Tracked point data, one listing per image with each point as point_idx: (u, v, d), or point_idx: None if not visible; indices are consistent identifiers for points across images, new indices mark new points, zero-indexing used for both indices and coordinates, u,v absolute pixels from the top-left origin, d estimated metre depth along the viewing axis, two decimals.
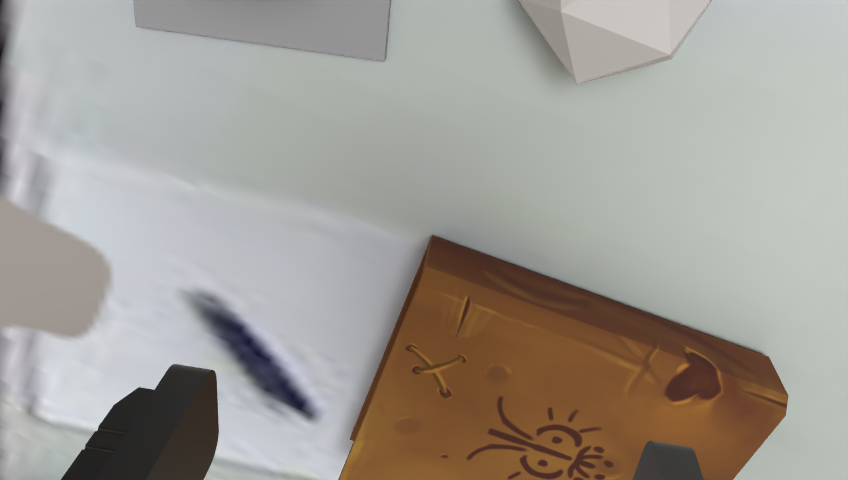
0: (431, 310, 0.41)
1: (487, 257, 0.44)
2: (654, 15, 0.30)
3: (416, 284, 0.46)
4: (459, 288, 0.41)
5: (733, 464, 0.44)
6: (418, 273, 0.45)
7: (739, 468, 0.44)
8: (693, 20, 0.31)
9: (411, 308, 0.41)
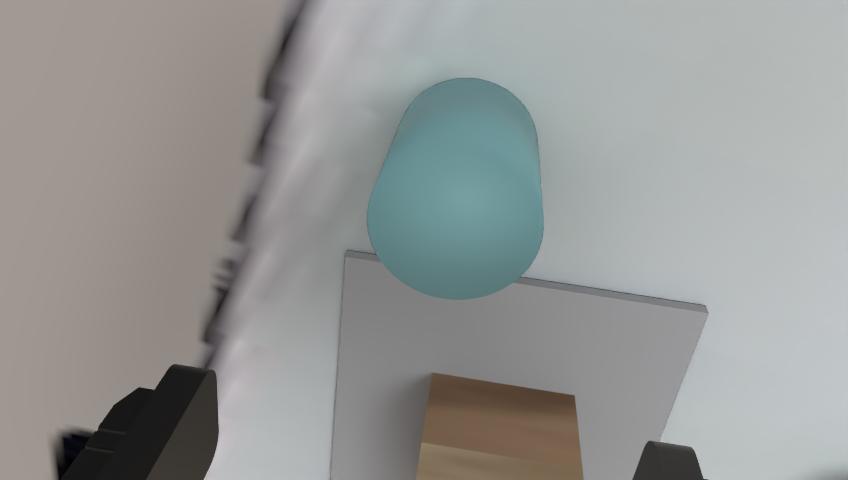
0: None
1: None
2: None
3: None
4: None
5: None
6: None
7: None
8: None
9: None
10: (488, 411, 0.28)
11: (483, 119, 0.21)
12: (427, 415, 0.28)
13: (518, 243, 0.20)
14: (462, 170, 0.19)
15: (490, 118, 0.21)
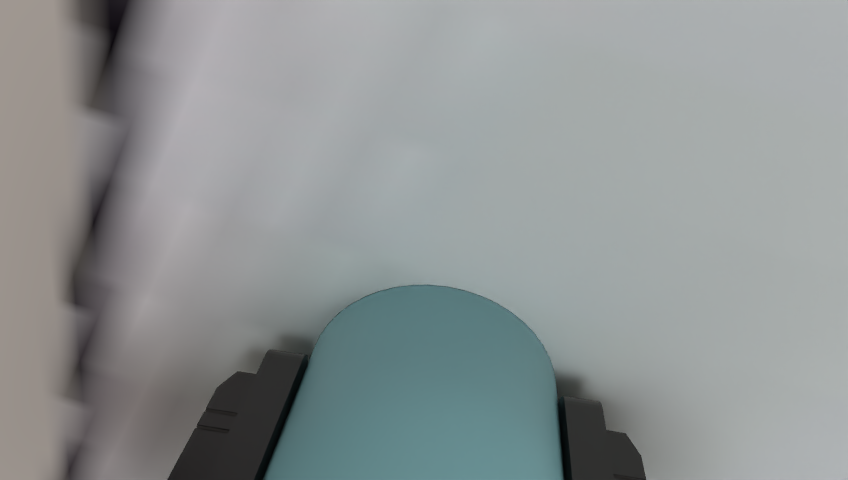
0: None
1: None
2: None
3: None
4: None
5: None
6: None
7: None
8: None
9: None
10: None
11: (452, 440, 0.10)
12: None
13: None
14: None
15: (466, 430, 0.10)
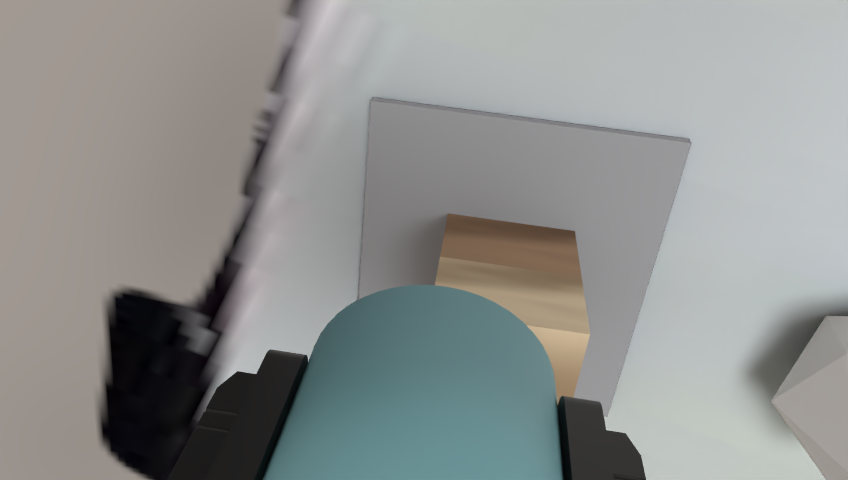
0: None
1: None
2: None
3: None
4: None
5: None
6: None
7: None
8: None
9: None
10: (498, 239, 0.32)
11: (452, 439, 0.10)
12: (444, 240, 0.31)
13: None
14: None
15: (466, 430, 0.10)
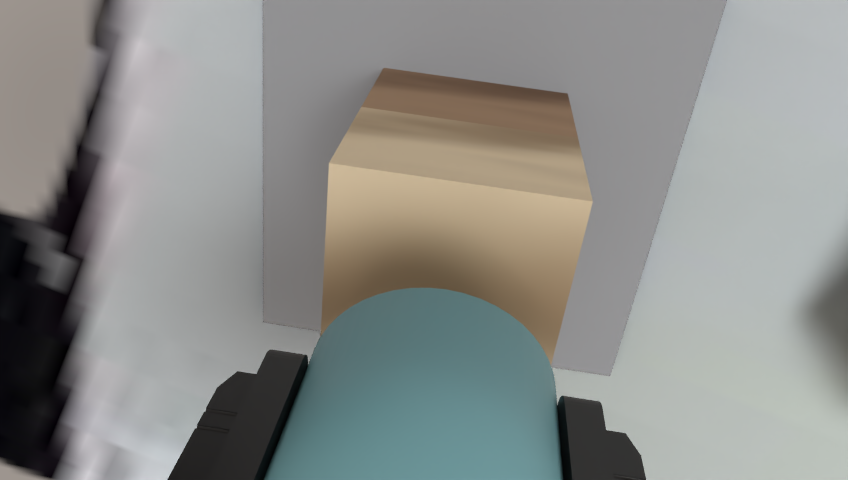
0: None
1: None
2: None
3: None
4: None
5: None
6: None
7: None
8: None
9: None
10: (454, 95, 0.21)
11: (452, 443, 0.10)
12: (372, 91, 0.21)
13: None
14: None
15: (465, 434, 0.10)
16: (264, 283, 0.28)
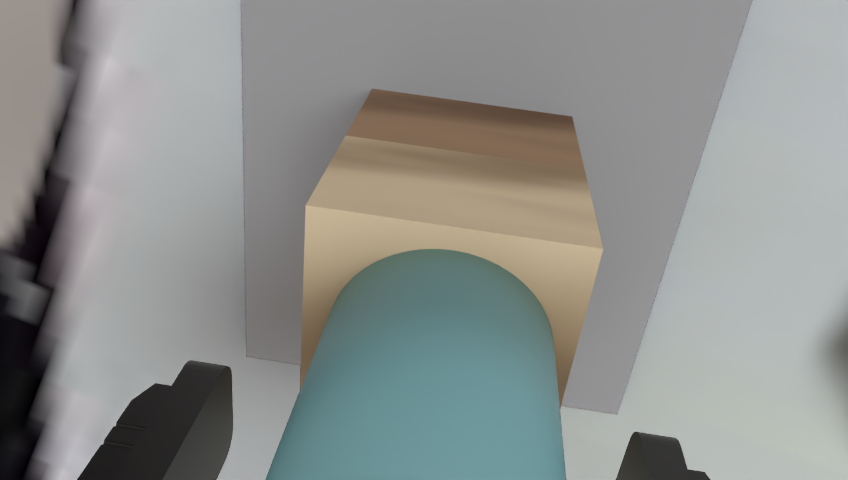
0: None
1: None
2: None
3: None
4: None
5: None
6: None
7: None
8: None
9: None
10: (449, 120, 0.20)
11: (461, 375, 0.11)
12: (358, 116, 0.19)
13: None
14: None
15: (472, 368, 0.11)
16: (246, 316, 0.26)
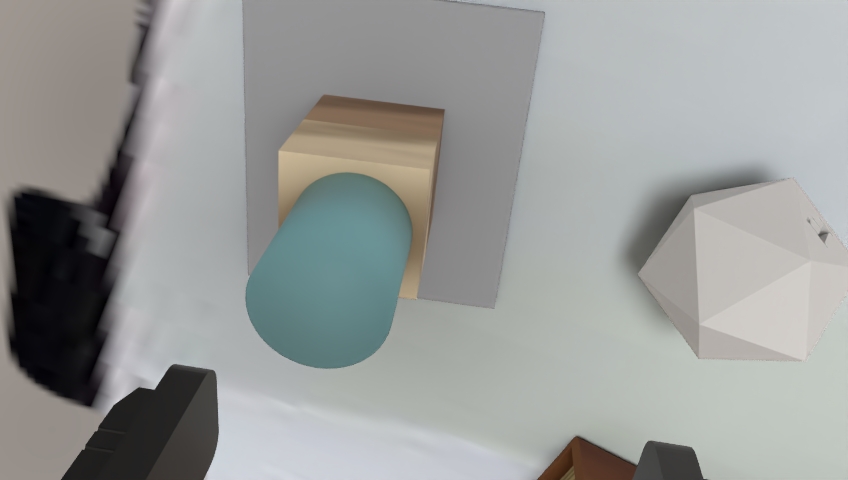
0: None
1: (629, 465, 0.44)
2: (792, 330, 0.30)
3: (548, 477, 0.45)
4: None
5: None
6: (553, 468, 0.45)
7: None
8: (826, 325, 0.31)
9: None
10: (366, 111, 0.33)
11: (346, 216, 0.25)
12: (312, 109, 0.33)
13: (372, 321, 0.24)
14: (320, 263, 0.23)
15: (352, 214, 0.25)
16: (248, 246, 0.39)
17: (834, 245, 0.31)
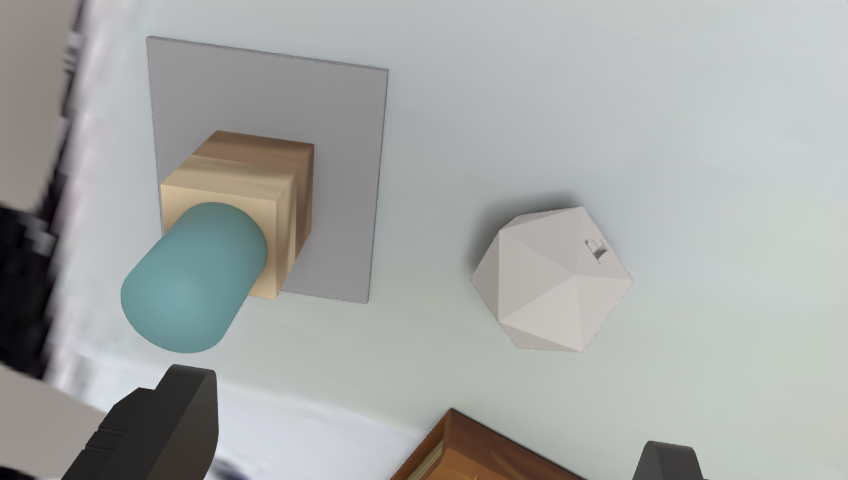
0: None
1: (493, 434, 0.52)
2: (569, 327, 0.39)
3: (428, 442, 0.54)
4: (471, 470, 0.49)
5: None
6: (432, 434, 0.53)
7: None
8: (601, 324, 0.40)
9: (428, 478, 0.49)
10: (247, 146, 0.41)
11: (199, 240, 0.33)
12: (202, 145, 0.41)
13: (214, 319, 0.32)
14: (172, 276, 0.31)
15: (204, 238, 0.33)
16: None
17: (609, 261, 0.39)
